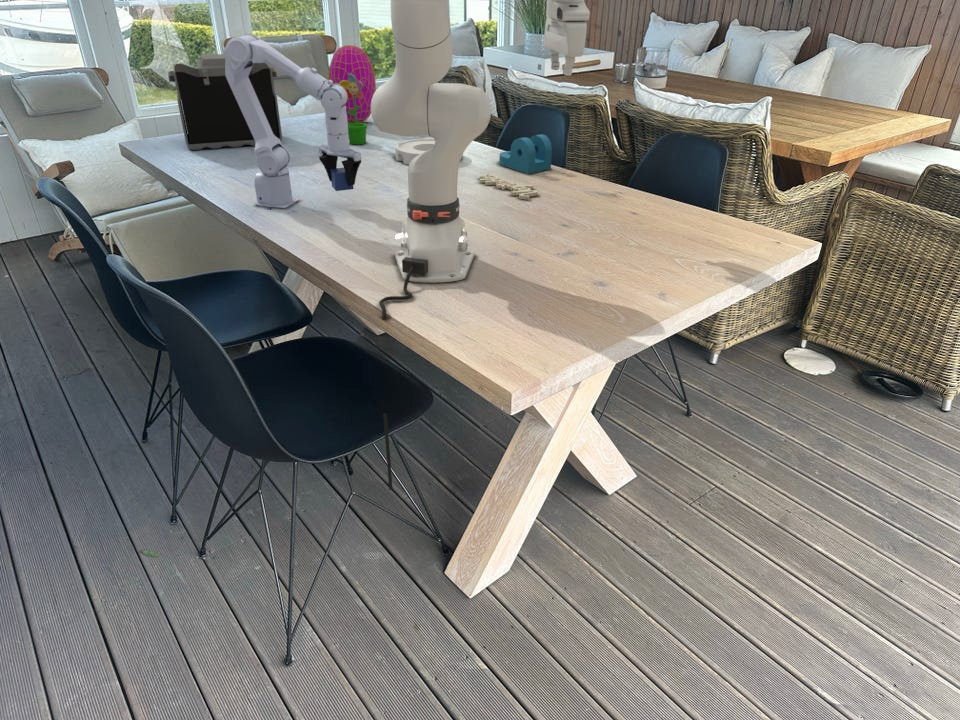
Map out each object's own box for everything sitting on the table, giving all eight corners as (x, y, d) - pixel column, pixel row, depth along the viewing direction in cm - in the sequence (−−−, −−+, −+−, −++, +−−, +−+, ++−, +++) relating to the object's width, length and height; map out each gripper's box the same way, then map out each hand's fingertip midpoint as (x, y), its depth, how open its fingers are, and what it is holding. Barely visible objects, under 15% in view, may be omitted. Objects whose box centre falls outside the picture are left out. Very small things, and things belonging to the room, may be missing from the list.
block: (349, 184, 196) (347, 167, 194) (353, 189, 193) (352, 171, 190) (331, 186, 195) (330, 168, 192) (336, 191, 191) (334, 173, 188)
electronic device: (279, 131, 276) (269, 50, 261) (287, 144, 259) (276, 57, 243) (182, 138, 265) (165, 53, 250) (183, 151, 247) (164, 61, 232)
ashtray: (454, 167, 232) (454, 155, 230) (388, 164, 235) (387, 152, 233) (466, 151, 252) (466, 140, 250) (404, 148, 255) (404, 137, 253)
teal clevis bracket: (550, 168, 233) (552, 137, 227) (527, 173, 227) (529, 141, 222) (515, 157, 245) (516, 127, 239) (493, 162, 239) (493, 131, 234)
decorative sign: (550, 191, 207) (525, 197, 202) (550, 194, 207) (525, 200, 202) (495, 172, 225) (471, 176, 220) (495, 174, 225) (471, 179, 220)
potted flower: (342, 144, 260) (336, 73, 247) (351, 139, 266) (346, 70, 254) (365, 146, 257) (360, 74, 245) (374, 141, 264) (369, 71, 251)
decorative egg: (362, 116, 305) (357, 42, 290) (386, 123, 292) (382, 46, 277) (324, 121, 294) (316, 45, 279) (347, 129, 281) (340, 49, 266)
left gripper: (307, 131, 187) (313, 181, 194) (346, 139, 180) (350, 190, 187) (326, 127, 192) (331, 175, 199) (365, 134, 185) (368, 184, 192)
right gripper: (539, 7, 171) (536, 66, 178) (566, 13, 154) (561, 78, 161) (563, 6, 172) (559, 66, 179) (592, 12, 155) (587, 78, 162)
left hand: (342, 182), depth 193 cm, fingers closed on block, 6 cm apart
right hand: (561, 72), depth 170 cm, fingers open, 8 cm apart
